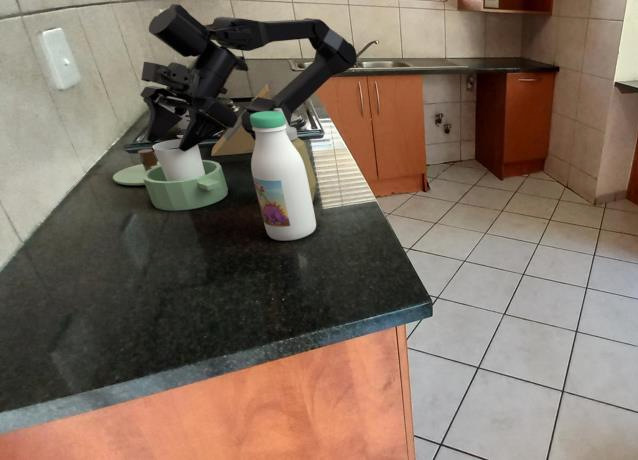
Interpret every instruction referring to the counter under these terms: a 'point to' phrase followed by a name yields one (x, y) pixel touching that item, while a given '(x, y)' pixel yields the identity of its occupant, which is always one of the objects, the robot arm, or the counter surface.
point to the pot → (186, 188)
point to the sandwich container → (238, 136)
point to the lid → (137, 169)
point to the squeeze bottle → (301, 154)
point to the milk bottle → (280, 180)
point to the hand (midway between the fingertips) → (165, 145)
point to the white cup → (179, 161)
